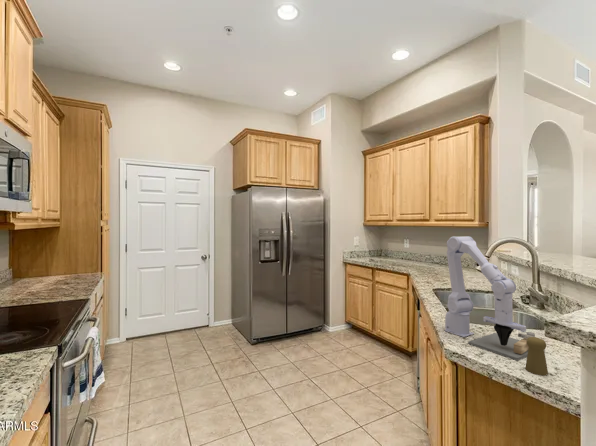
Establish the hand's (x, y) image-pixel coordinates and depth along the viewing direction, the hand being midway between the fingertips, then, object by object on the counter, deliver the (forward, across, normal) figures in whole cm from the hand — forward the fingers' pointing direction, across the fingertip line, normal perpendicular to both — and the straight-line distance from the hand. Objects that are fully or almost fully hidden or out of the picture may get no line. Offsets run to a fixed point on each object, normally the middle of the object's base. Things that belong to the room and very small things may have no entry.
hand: (503, 344), depth 117 cm
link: (+1, -5, -6) cm, 7 cm away
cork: (+2, -14, +9) cm, 17 cm away
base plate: (+2, +2, -4) cm, 5 cm away
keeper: (+1, -5, -7) cm, 8 cm away
